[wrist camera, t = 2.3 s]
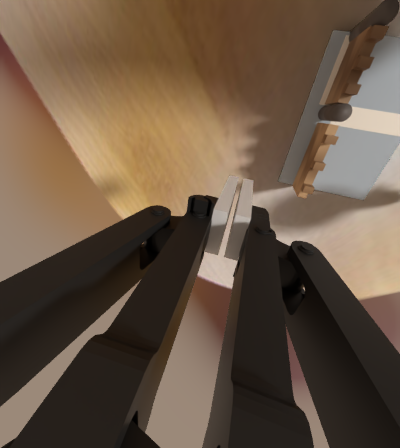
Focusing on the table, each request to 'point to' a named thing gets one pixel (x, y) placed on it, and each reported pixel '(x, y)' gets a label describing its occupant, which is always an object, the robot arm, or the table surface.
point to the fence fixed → (357, 61)
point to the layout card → (353, 121)
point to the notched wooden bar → (314, 158)
